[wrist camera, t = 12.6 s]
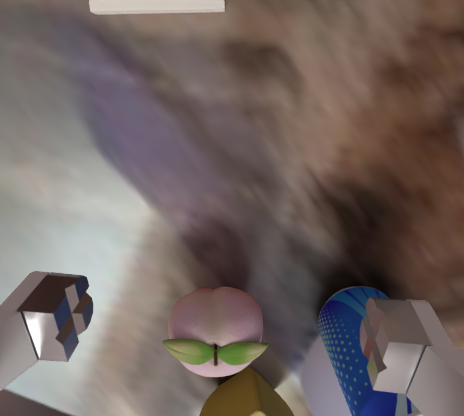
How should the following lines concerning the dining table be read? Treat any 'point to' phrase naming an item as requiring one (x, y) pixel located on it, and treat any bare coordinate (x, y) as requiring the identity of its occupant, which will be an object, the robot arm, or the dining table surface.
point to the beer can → (356, 355)
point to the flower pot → (245, 398)
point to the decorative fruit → (216, 331)
